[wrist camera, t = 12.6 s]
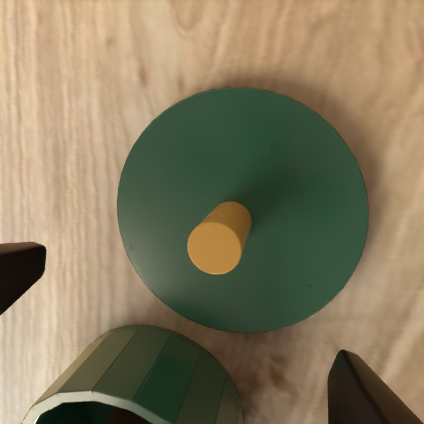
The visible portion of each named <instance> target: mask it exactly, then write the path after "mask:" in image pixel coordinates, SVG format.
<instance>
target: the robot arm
mask: <svg viewBox="0 0 424 424" xmlns="http://www.w3.org/2000/svg"><path fill="white" fill-rule="evenodd" d="M45 263H46V247H45V246H44V245H41V244H38V243H35V242H21V243H6V244H0V315H1V314H2V313H4V312H5V311H6V310H7V309H8V308H9V307H10V306H11V305H12V304H13V303H14V302H15V301H17V300H18V299H19V298H20V297H21V296H22V295H23V294H24V293H25V292H26V291H27V290H28V289H29V288H30V287H31V286H32V285H33V284H35V283H36V282H37V281H38V280H39V279H40V278H41V277H42V275H43V273H44V271H45ZM327 384H328V424H424V423H423V422H422V421H421V420H420V419H419V418H418V417H417V416H416V415H415V414H414V413H413V412H412V411H411V410H410V409H409V408H408V407H407V406H406V405H405V404H404V403H403V402H402V401H401V399H400V398H399V397H398V396H397V395H396V394H395V393H394V392H393V391H392V390H391V389H390V388H389V387H388V386H387V385H386V384H385V383H384V382H383V381H382V380H381V379H380V378H379V377H378V375H377V374H376V373H375V372H374V371H373V370H372V369H371V368H370V367H369V366H368V365H367V364H366V363H365V362H364V361H363V360H362V359H361V358H360V357H359V356H358V355H357V354H355V353H352V352H349V351H346V350H340V351H339V352H338V354H337V356H336V358H335V361H334V363H333V365H332V368H331V370H330V372H329V375H328V383H327Z"/></svg>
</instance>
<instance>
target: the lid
mask: <svg viewBox="0 0 424 424" xmlns="http://www.w3.org/2000/svg"><path fill="white" fill-rule="evenodd" d="M368 214H369V208H368V199H367V191H366V187H365V184H364V180H363V176H362V173H361V171H360V168H359V166H358V164H357V162H356V159H355V157H354V155H353V154H352V152H351V150H350V149H349V147H348V146H347V144H346V143H345V141H344V140H343V138H342V137H341V136H340V135H339V134H338V133H337V131H336V130H335V129H334V128H333V127H332V126H331V125H330V124H329V123H328V122H327V121H326V120H324V119H323V118H322V117H321V116H320V115H319V114H318V113H316V112H314V111H313V110H311V109H310V108H308V107H307V106H305V105H304V104H302V103H300V102H298V101H296V100H294V99H291V98H289V97H287V96H285V95H282V94H278V93H275V92H272V91H268V90H264V89H257V88H250V87H227V88H220V89H212V90H209V91H205V92H202V93H198V94H195V95H193V96H191V97H188V98H186V99H184V100H181V101H179V102H178V103H176V104H175V105H173V106H171V107H170V108H168V109H167V110H165V111H164V112H163V113H162V114H160V115H159V116H158V117H157V118H156V119H154V120H153V121H152V122H151V123H150V125H149V126H148V127H147V128H146V129H145V130H144V131H143V132H142V134H141V135H140V137H139V138H138V139H137V141H136V142H135V144H134V145H133V147H132V149H131V151H130V153H129V155H128V157H127V159H126V162H125V165H124V167H123V170H122V173H121V178H120V182H119V187H118V197H117V215H118V223H119V229H120V234H121V237H122V241H123V245H124V247H125V250H126V252H127V255H128V257H129V259H130V261H131V263H132V265H133V267H134V268H135V270H136V272H137V273H138V275H139V276H140V278H141V279H142V280H143V282H144V283H145V284H146V285H147V287H148V288H149V289H150V290H151V291H152V292H153V293H154V294H155V295H156V296H157V297H158V298H159V299H160V300H161V301H162V302H164V303H165V304H166V305H167V306H169V307H170V308H172V309H173V310H174V311H176V312H177V313H179V314H181V315H183V316H184V317H186V318H188V319H190V320H192V321H194V322H197V323H199V324H201V325H204V326H208V327H211V328H214V329H218V330H223V331H229V332H239V333H255V332H266V331H271V330H277V329H280V328H283V327H287V326H290V325H293V324H295V323H297V322H299V321H302V320H304V319H306V318H308V317H309V316H311V315H313V314H314V313H316V312H317V311H319V310H320V309H322V308H323V307H324V306H325V305H326V304H328V303H329V302H330V301H331V300H332V299H333V298H334V297H335V296H336V295H337V294H338V293H339V292H340V291H341V290H342V289H343V287H344V286H345V284H346V283H347V281H348V280H349V279H350V277H351V276H352V274H353V272H354V270H355V268H356V266H357V264H358V262H359V260H360V257H361V254H362V251H363V248H364V245H365V241H366V236H367V230H368Z"/></svg>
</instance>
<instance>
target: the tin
mask: <svg viewBox="0 0 424 424" xmlns="http://www.w3.org/2000/svg"><path fill="white" fill-rule="evenodd" d="M116 407H119V408H123V409H126V410H130V411H132V412H134V413H136V414H137V415H139V416H141V417H142V418H144V419H146V420H147V421H149V422H151V423H153V424H243V409H242V405H241V401H240V397H239V395H238V392H237V389H236V387H235V385H234V383H233V382H232V380H231V378H230V376H229V375H228V374H227V372H226V371H225V369H224V368H223V367H222V366H221V365H220V363H219V362H218V361H217V360H216V359H215V358H214V357H213V356H212V355H211V354H210V353H208V352H207V351H206V350H205V349H204V348H202V347H201V346H199V345H198V344H197V343H195V342H193V341H192V340H190V339H188V338H186V337H185V336H182V335H180V334H178V333H175V332H173V331H170V330H167V329H163V328H159V327H154V326H145V325H134V326H125V327H121V328H117V329H114V330H112V331H109V332H107V333H105V334H104V335H102V336H100V337H99V338H98V339H97V340H96V341H94V342H93V343H92V344H90V345H89V346H88V347H87V348H86V349H85V350H84V351H83V352H82V353H81V354H80V356H79V357H78V358H77V359H76V360H75V361H74V362H73V363H72V364H71V365H70V366H69V367H68V368H67V369H66V370H65V371H64V373H63V374H62V375H61V376H60V377H59V378H58V379H57V380H56V381H55V382H54V383H53V384H52V385H51V386H50V387H49V388H48V390H47V391H46V392H45V393H44V394H43V395H42V396H41V397H40V398H39V399H38V400H37V401H36V402H35V403H34V404H33V405H32V407H31V408H30V410H29V412H28V413H27V415H26V416H25V418H24V420H23V421H22V423H21V424H106V423H107V422H108V420H109V418H110V417H111V415H112V413H113V412H114V410H115V409H116Z"/></svg>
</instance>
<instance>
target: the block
mask: <svg viewBox="0 0 424 424" xmlns="http://www.w3.org/2000/svg"><path fill="white" fill-rule="evenodd" d="M106 424H153V423H151V422H149V421H147V420H146V419H144V418H142V417H141V416H139V415H137V414H136V413H134V412H132V411H130V410H126V409H123V408H119V407H116V409H115V410H114V412H113V413H112V415H111V417H110V418H109V420H108V422H107V423H106Z"/></svg>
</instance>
